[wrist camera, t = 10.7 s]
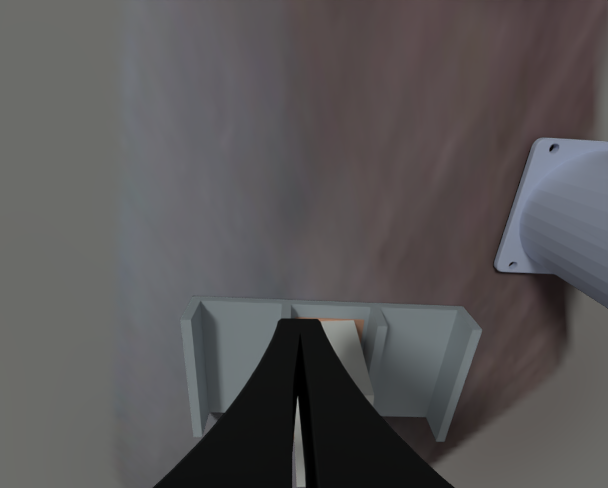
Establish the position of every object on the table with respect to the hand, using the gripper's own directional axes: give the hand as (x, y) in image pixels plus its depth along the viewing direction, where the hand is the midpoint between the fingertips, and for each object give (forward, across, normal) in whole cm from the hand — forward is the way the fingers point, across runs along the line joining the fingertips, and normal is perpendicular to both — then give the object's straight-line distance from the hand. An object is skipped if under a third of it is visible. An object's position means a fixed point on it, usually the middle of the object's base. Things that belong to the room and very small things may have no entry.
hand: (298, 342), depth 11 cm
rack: (+9, -2, +10) cm, 14 cm away
